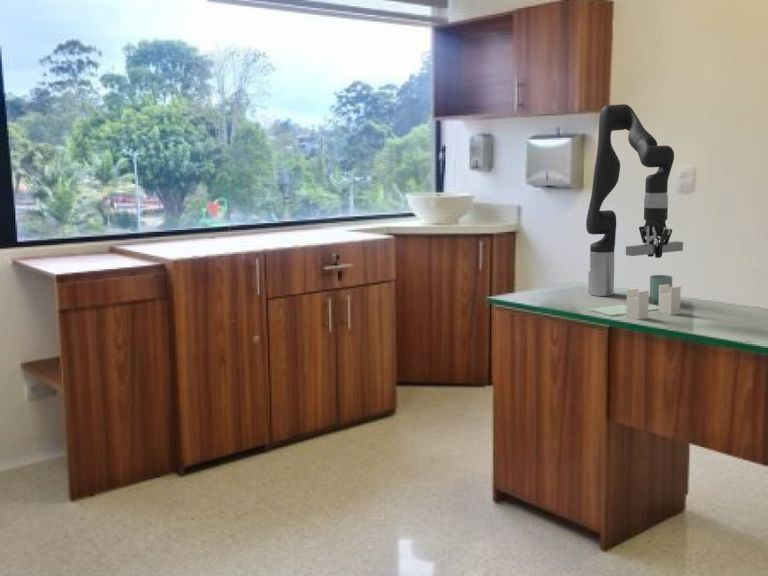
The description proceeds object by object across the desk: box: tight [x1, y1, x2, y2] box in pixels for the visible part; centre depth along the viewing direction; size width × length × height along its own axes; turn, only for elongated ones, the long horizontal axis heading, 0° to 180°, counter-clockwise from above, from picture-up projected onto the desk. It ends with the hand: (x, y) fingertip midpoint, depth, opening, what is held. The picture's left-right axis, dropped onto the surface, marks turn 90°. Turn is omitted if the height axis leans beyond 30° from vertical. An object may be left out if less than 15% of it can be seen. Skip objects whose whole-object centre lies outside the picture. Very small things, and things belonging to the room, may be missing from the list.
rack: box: [625, 284, 682, 320], centre depth 264 cm, size 6×18×10 cm, turn 113°
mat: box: [588, 303, 658, 317], centre depth 275 cm, size 12×24×1 cm, turn 113°
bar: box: [625, 240, 684, 257], centre depth 261 cm, size 3×22×3 cm, turn 113°
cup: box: [649, 274, 673, 305], centre depth 284 cm, size 8×8×10 cm
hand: (654, 256), depth 261 cm, fingers closed on bar, 3 cm apart
